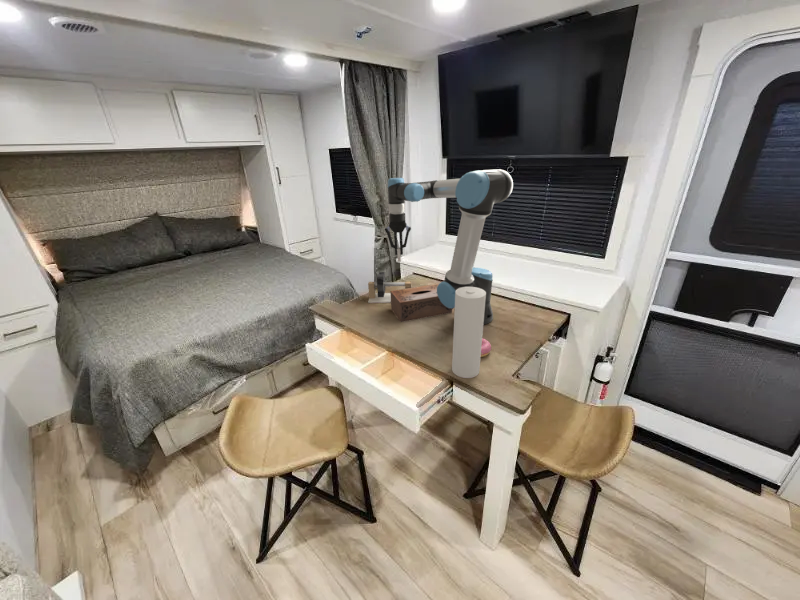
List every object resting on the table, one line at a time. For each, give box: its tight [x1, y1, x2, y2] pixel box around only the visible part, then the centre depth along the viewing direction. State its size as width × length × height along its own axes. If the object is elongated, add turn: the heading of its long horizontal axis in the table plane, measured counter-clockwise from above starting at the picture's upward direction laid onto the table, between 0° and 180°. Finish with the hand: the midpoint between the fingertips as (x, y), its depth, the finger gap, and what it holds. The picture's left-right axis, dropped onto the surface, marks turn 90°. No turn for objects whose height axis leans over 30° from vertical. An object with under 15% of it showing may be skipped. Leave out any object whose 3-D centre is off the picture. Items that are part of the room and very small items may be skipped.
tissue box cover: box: [389, 283, 453, 323], centre depth 157 cm, size 26×14×10 cm, turn 109°
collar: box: [376, 271, 386, 297], centre depth 170 cm, size 10×3×10 cm, turn 177°
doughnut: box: [480, 337, 492, 358], centre depth 125 cm, size 11×11×4 cm
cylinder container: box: [451, 287, 486, 379], centre depth 109 cm, size 9×9×30 cm
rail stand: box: [367, 281, 412, 304], centre depth 172 cm, size 11×22×9 cm, turn 87°
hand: (399, 260), depth 164 cm, fingers closed
